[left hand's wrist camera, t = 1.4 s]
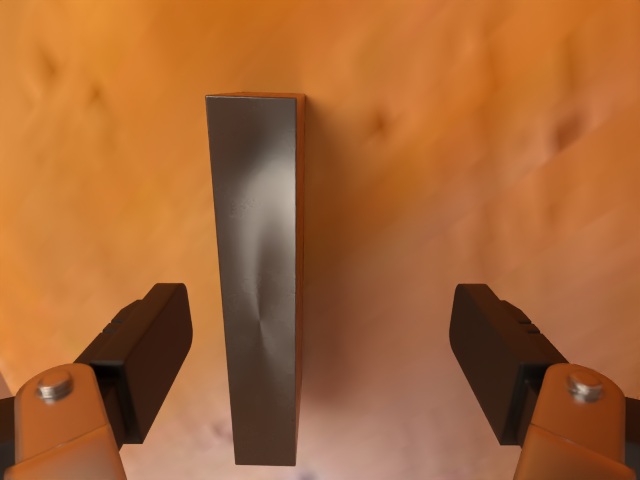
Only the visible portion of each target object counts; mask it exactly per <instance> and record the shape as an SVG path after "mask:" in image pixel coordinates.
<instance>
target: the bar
mask: <svg viewBox="0 0 640 480" xmlns="http://www.w3.org/2000/svg"><path fill="white" fill-rule="evenodd" d="M205 99H206V112H207V124H208V136H209V148H210V161H211V173H212V185H213V197H214V209H215V222H216V234H217V246H218V258H219V271H220V283H221V295H222V307H223V320H224V332H225V344H226V356H227V369H228V381H229V393H230V405H231V418H232V430H233V442H234V454H235V464H236V465H263V466H295V465H296V454H297V440H298V427H299V413H300V399H301V385H302V323H303V233H304V144H305V94H292V93H258V92H237V93H225V94H213V95H206V96H205Z"/></svg>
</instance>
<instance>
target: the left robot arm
mask: <svg viewBox="0 0 640 480" xmlns="http://www.w3.org/2000/svg"><path fill="white" fill-rule="evenodd" d="M192 337H193V329H192V321H191V315H190V308H189V301H188V294H187V289H186V286H185V284H183V283H157V284H155V285H154V286H153V288H152V289H151V290H150V291H149V292H148V294H147V295H146V296H145V297H144V298H143V299H142V300H136V301H134V302H133V303H131V304H130V305H128V306H126V307H125V308H123V309H121V310H120V312H119V313H118V314H117V315H116V316H115V317H114V318H113V319H112V320H111V323H109V324H108V325H107V326H106V327H105V328H104V329H103V332H102V333H100V334H99V335H98V336H97V337H96V338H95V339H94V340H93V341H92V343H91V344H90V345H89V346H88V347H87V348H86V349H85V350H84V351H83V352H82V354H81V355H80V356H79V357H78V358H77V359H76V360H75V361H74V362H73V363H71V364H64V365H60V366H57V367H53V368H51V369H48V370H46V371H44V372H42V373H40V374H38V375H36V376H34V377H33V378H32V379H30V380H29V381H27V382H26V383H25V384H24V385H23V386H22V387H21V388H20V389H19V391H18V392H17V394H16V396H14V397H10V398H5V399H0V480H127V477H126V474H125V471H124V468H123V464H122V461H121V458H120V454H119V451H120V449H121V447H122V445H123V444H143V442H144V440H145V438H146V436H147V434H148V432H149V430H150V428H151V426H152V424H153V422H154V420H155V418H156V416H157V414H158V412H159V410H160V408H161V406H162V404H163V402H164V400H165V398H166V396H167V394H168V392H169V390H170V388H171V386H172V384H173V382H174V380H175V378H176V376H177V374H178V372H179V370H180V368H181V366H182V364H183V362H184V360H185V358H186V356H187V354H188V352H189V350H190V347H191V344H192ZM449 338H450V344H451V348H452V351H453V353H454V355H455V357H456V359H457V361H458V363H459V365H460V366H461V368H462V370H463V372H464V374H465V376H466V378H467V380H468V382H469V384H470V386H471V388H472V390H473V392H474V394H475V396H476V398H477V400H478V402H479V404H480V406H481V408H482V410H483V412H484V414H485V416H486V418H487V420H488V422H489V424H490V426H491V428H492V430H493V431H494V433H495V435H496V437H497V439H498V441H499V443H500V445H520V447H521V448H522V451H521V454H520V458H519V461H518V464H517V468H516V471H515V474H514V477H513V480H640V400H637V399H633V398H628V397H625V396H624V394H623V392H622V391H621V389H620V388H619V387H618V386H617V385H616V384H615V383H614V382H613V381H611V380H610V379H608V378H607V377H606V376H604V375H602V374H600V373H598V372H596V371H594V370H592V369H589V368H587V367H583V366H580V365H576V364H570V363H569V362H568V361H567V360H566V359H565V358H564V357H563V356H562V354H561V353H560V352H559V351H558V350H557V349H556V348H555V347H554V346H553V345H552V344H551V342H550V341H549V340H548V339H547V338H546V337H545V336H544V335H543V334H540V330H539V329H538V328H537V327H536V326H535V325H534V324H532V323H531V321H530V319H529V318H528V317H527V316H526V315H525V314H524V313H523V312H522V311H521V310H520V309H518V308H517V307H515V306H513V305H512V304H510V303H508V302H507V301H505V300H499V298H498V297H497V296H496V295H495V294H494V293H493V291H492V290H491V289H490V288H489V287H488V286H487V285H486V284H458V285H457V287H456V290H455V295H454V302H453V308H452V315H451V322H450V329H449Z"/></svg>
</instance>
